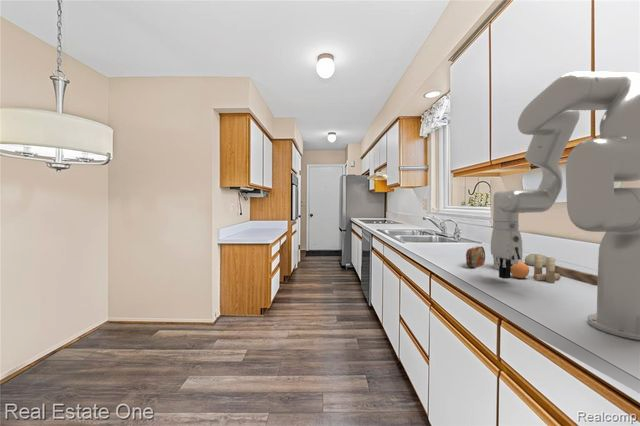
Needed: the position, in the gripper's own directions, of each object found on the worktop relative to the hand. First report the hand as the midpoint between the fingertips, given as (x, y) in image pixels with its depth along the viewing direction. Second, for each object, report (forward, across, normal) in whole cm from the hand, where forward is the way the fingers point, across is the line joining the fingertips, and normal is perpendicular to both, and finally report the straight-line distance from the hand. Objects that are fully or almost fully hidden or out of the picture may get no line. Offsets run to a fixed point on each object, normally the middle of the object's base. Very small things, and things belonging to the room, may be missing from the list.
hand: (504, 277), depth 103 cm
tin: (+2, +25, -6) cm, 25 cm away
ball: (-2, +4, -9) cm, 10 cm away
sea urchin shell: (+2, +22, -33) cm, 40 cm away
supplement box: (+2, +16, -14) cm, 21 cm away
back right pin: (+2, -2, -15) cm, 16 cm away
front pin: (0, 0, -12) cm, 12 cm away
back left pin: (+2, +2, -15) cm, 16 cm away
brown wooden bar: (+2, 0, -28) cm, 28 cm away
